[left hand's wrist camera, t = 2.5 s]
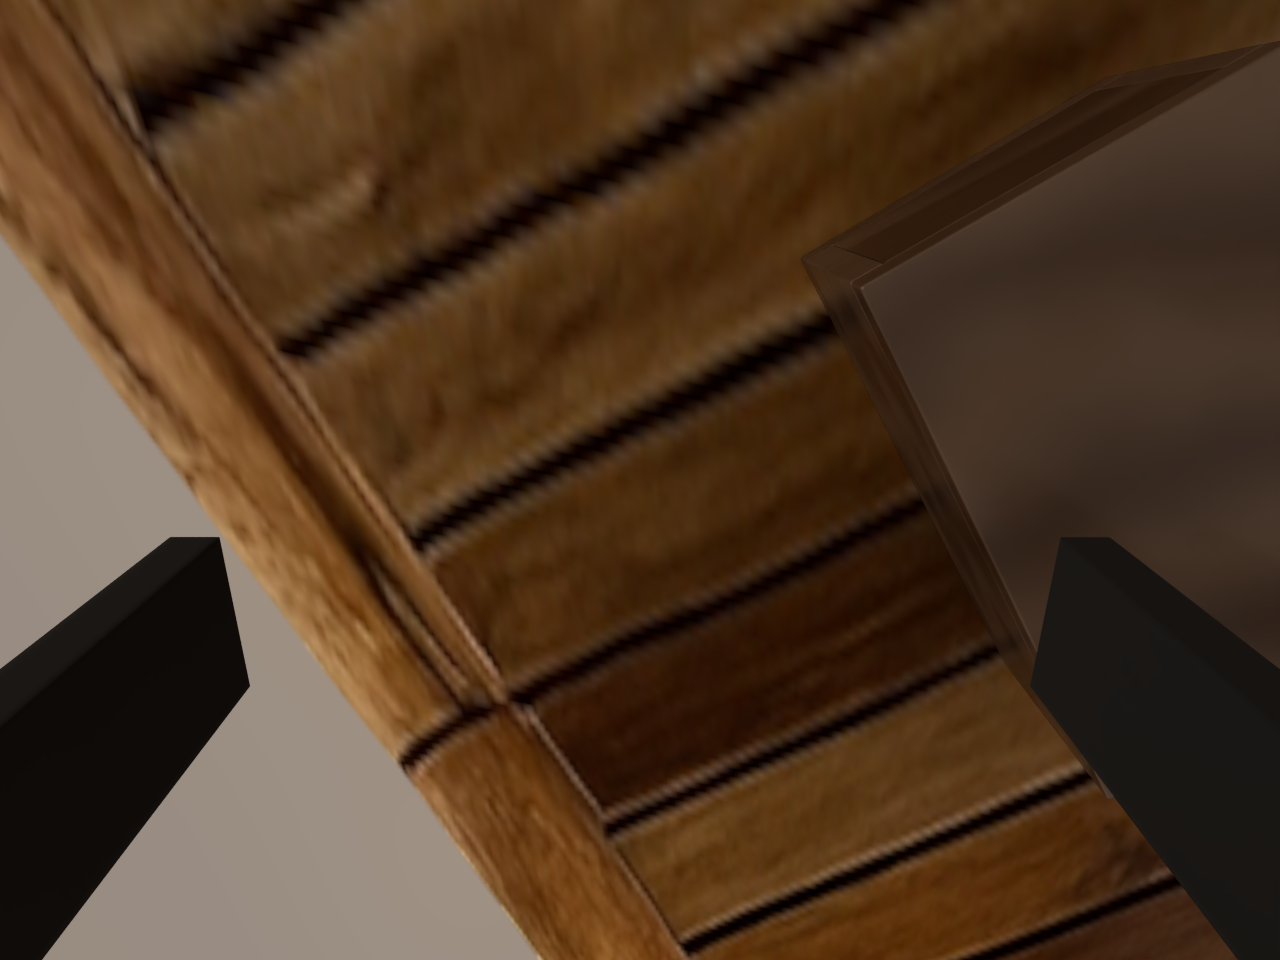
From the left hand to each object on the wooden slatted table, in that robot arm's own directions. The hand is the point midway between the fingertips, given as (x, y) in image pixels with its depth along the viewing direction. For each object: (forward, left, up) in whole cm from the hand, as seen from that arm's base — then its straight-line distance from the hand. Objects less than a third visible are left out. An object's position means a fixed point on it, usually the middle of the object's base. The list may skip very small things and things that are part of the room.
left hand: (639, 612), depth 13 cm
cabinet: (-12, +10, -19) cm, 24 cm away
